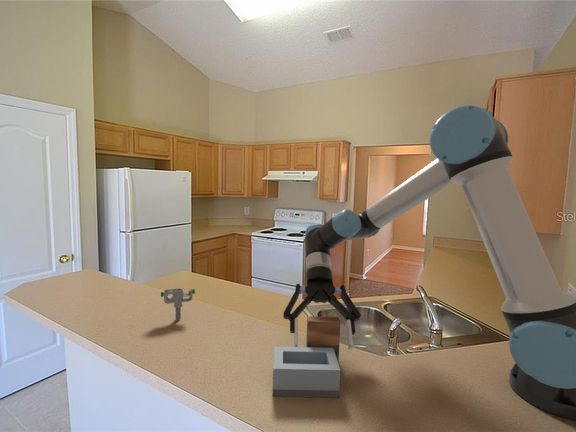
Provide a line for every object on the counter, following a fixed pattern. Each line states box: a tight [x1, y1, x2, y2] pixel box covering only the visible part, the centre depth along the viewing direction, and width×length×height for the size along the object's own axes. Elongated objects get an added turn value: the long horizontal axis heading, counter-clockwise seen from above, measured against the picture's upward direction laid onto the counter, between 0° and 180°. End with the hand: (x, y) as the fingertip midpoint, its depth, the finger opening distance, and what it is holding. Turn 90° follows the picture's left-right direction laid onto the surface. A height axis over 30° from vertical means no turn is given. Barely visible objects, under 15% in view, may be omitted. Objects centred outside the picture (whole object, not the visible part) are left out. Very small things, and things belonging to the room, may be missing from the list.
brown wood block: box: [305, 315, 341, 364], centre depth 77 cm, size 3×8×11 cm, turn 91°
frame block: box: [272, 346, 341, 398], centre depth 68 cm, size 9×14×6 cm, turn 91°
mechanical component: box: [160, 287, 196, 322], centre depth 98 cm, size 3×10×10 cm, turn 112°
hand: (323, 347), depth 75 cm, fingers open, 13 cm apart
